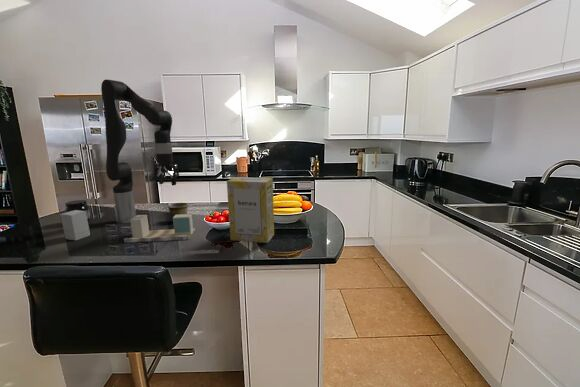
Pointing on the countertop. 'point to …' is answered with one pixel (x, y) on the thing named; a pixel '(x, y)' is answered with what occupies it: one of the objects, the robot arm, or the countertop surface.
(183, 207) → the ceramic cup
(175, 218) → the faced carton
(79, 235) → the supplement box
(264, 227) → the pasta box
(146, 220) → the carton
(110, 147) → the robot arm
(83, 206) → the supplement container
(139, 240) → the shelf
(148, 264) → the countertop surface
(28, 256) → the countertop surface
